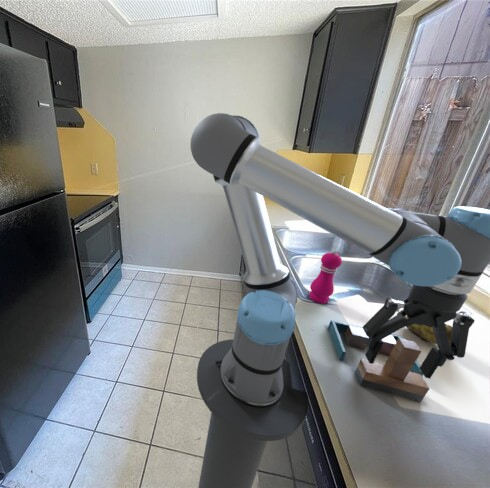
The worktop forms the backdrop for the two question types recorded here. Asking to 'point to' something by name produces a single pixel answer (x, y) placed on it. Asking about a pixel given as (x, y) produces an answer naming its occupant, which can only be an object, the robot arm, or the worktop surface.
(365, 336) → the walnut block
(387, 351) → the mahogany block
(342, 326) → the teal u-shaped frame
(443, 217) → the robot arm
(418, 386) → the wooden t-shaped block
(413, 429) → the worktop surface
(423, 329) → the yellow-green oblong lump
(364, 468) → the worktop surface
